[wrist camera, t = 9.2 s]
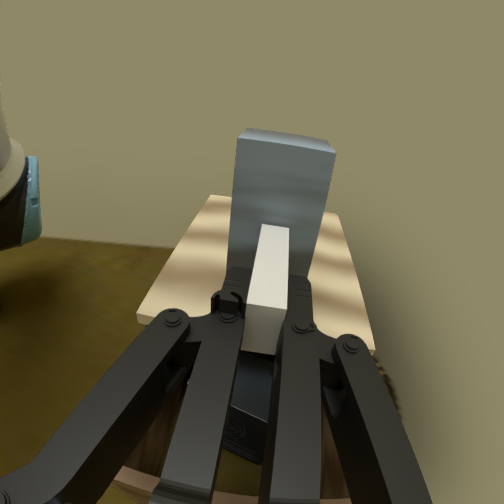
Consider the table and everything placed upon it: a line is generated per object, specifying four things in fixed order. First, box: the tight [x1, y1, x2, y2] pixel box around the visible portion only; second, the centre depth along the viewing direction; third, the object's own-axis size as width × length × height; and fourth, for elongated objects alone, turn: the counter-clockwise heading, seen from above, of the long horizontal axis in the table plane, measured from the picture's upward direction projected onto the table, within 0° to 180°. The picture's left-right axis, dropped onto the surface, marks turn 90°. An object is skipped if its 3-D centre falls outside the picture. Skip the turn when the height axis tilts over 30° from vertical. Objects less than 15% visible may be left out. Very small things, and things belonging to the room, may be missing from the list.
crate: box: [110, 325, 352, 504], centre depth 23 cm, size 22×16×14 cm
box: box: [187, 350, 274, 465], centre depth 24 cm, size 8×6×11 cm
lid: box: [136, 128, 375, 355], centre depth 26 cm, size 23×17×13 cm
